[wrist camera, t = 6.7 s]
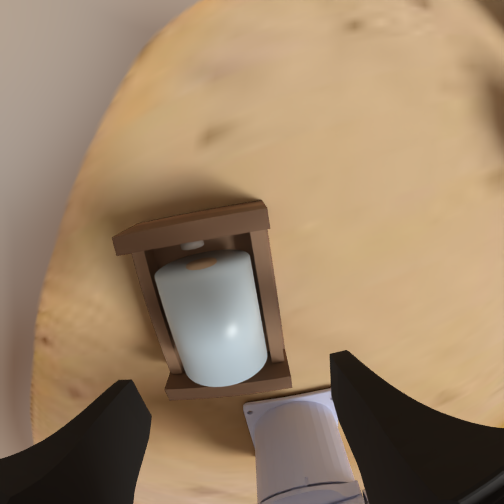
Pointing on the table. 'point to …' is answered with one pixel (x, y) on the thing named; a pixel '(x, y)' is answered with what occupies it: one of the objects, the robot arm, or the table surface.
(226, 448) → the table surface
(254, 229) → the holder
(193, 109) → the table surface
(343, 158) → the table surface
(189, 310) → the roll
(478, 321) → the table surface
